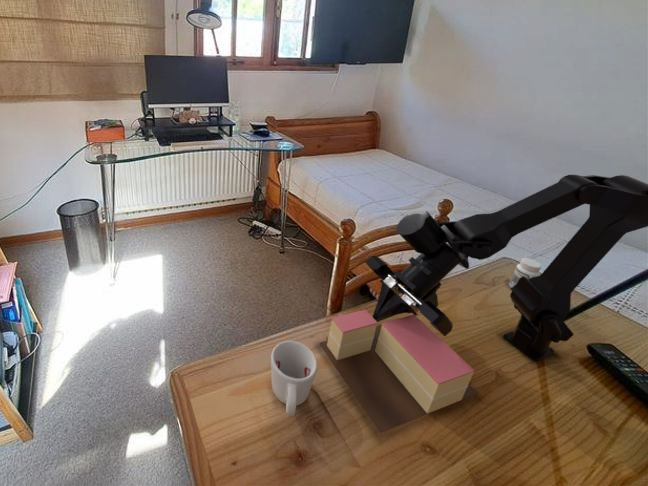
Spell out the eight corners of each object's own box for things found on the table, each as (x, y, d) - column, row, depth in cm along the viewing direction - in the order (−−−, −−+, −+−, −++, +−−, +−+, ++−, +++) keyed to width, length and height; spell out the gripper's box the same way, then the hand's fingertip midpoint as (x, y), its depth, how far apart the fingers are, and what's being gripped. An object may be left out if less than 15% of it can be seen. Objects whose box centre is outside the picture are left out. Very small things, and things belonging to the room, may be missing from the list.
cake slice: (358, 336, 72) (365, 309, 69) (370, 350, 69) (377, 322, 66) (326, 345, 70) (331, 317, 67) (337, 360, 67) (343, 332, 64)
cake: (405, 341, 71) (414, 314, 69) (461, 400, 60) (475, 370, 57) (374, 350, 69) (381, 323, 66) (427, 414, 58) (439, 383, 55)
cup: (312, 436, 55) (319, 403, 52) (263, 424, 56) (267, 391, 53) (311, 375, 65) (316, 344, 62) (269, 366, 66) (273, 336, 63)
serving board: (400, 322, 77) (401, 319, 77) (476, 397, 62) (477, 393, 61) (317, 346, 71) (318, 342, 70) (378, 436, 55) (379, 433, 55)
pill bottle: (526, 285, 91) (538, 259, 88) (534, 296, 87) (547, 270, 84) (505, 280, 92) (516, 255, 89) (512, 292, 88) (524, 265, 85)
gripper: (486, 317, 64) (425, 373, 65) (409, 258, 80) (361, 303, 81) (469, 292, 58) (403, 353, 59) (390, 234, 75) (339, 283, 75)
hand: (374, 320), depth 69 cm, fingers closed
